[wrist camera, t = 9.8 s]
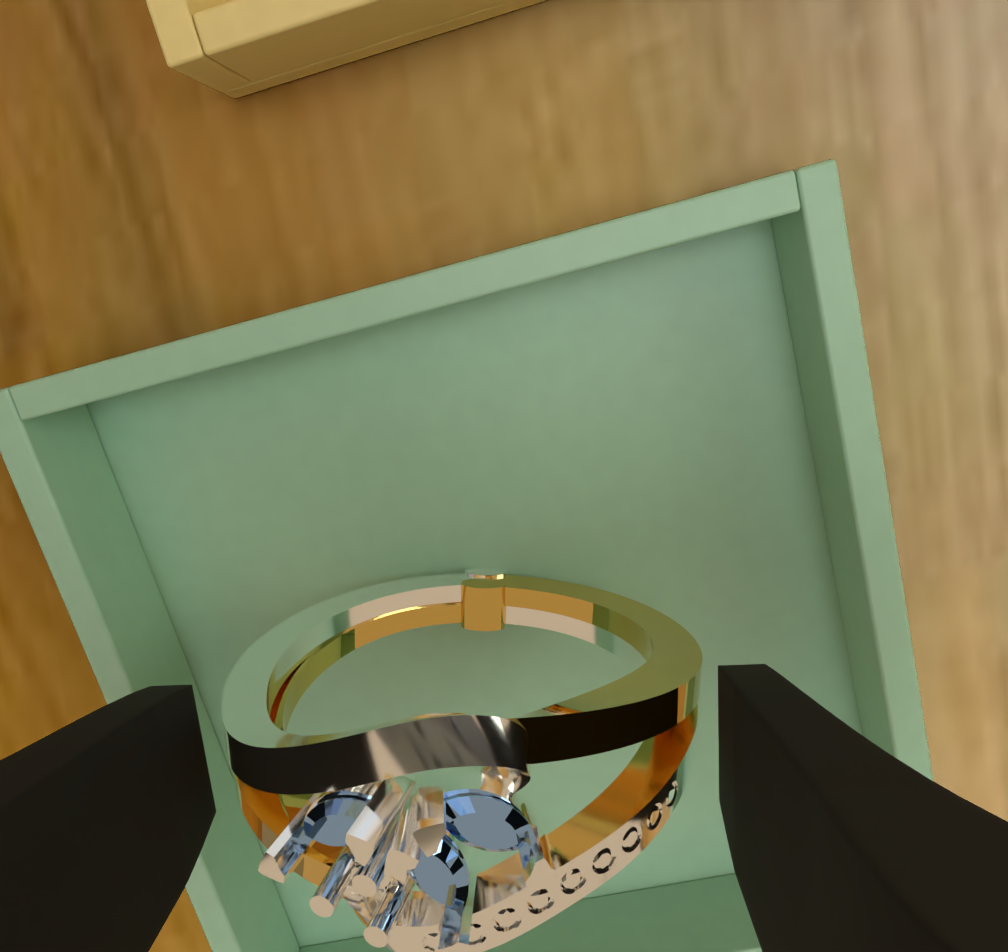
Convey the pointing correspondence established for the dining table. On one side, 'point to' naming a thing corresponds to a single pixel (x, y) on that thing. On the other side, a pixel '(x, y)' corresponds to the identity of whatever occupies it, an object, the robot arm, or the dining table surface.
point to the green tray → (500, 517)
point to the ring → (458, 763)
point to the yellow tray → (298, 34)
